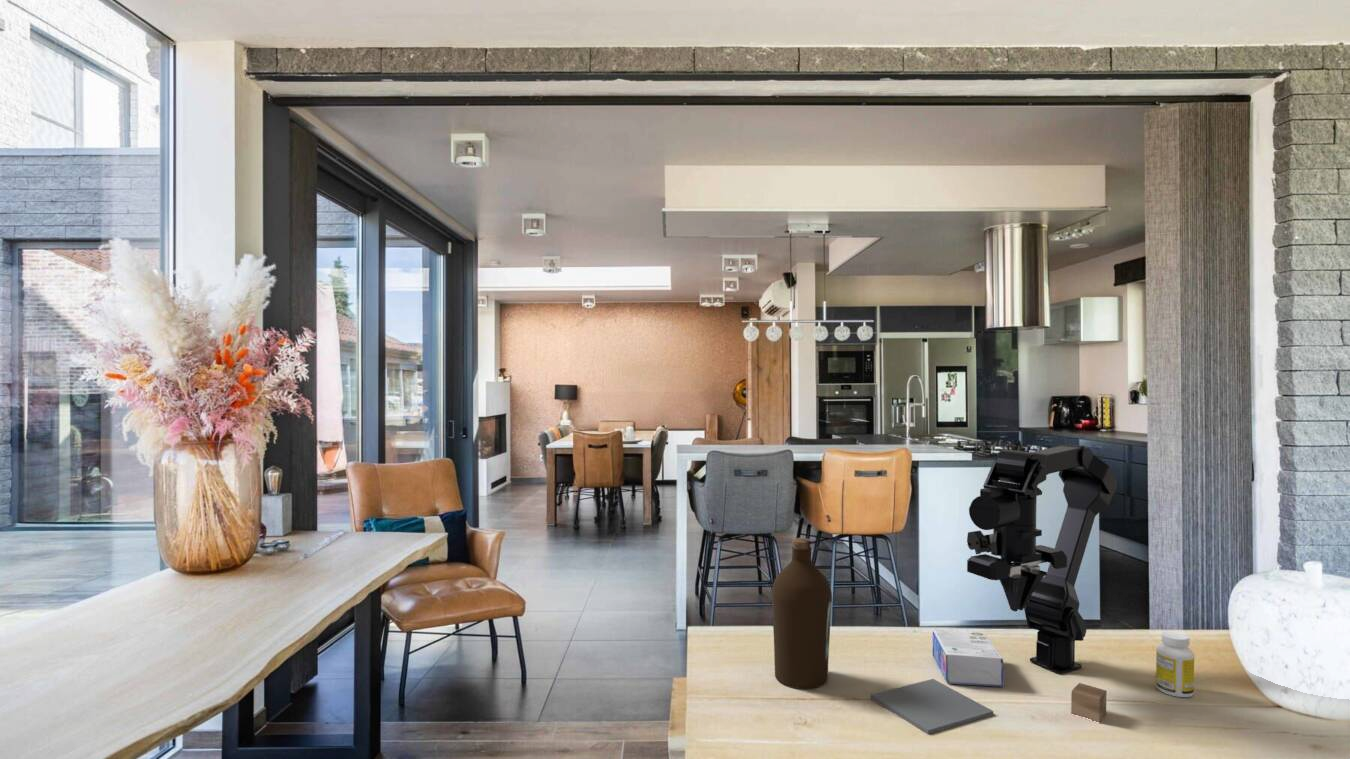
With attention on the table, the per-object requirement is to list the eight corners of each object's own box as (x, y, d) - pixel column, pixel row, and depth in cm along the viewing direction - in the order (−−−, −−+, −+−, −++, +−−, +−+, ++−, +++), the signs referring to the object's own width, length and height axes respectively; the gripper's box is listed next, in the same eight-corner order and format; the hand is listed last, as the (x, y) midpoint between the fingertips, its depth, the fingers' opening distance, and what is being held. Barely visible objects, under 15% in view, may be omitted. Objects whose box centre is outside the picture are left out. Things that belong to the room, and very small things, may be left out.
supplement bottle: (1189, 687, 127) (1191, 632, 127) (1197, 701, 122) (1198, 643, 122) (1153, 681, 129) (1154, 627, 129) (1158, 694, 125) (1159, 638, 124)
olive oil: (776, 691, 126) (777, 548, 125) (767, 665, 136) (767, 532, 136) (838, 690, 126) (839, 547, 125) (823, 664, 137) (824, 532, 136)
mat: (933, 682, 129) (933, 678, 129) (993, 714, 118) (993, 711, 118) (870, 698, 123) (870, 694, 123) (927, 734, 112) (927, 730, 112)
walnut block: (1078, 706, 121) (1079, 682, 120) (1106, 714, 118) (1106, 690, 118) (1071, 715, 118) (1071, 690, 118) (1098, 723, 115) (1099, 698, 115)
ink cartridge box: (1004, 689, 127) (982, 653, 141) (1005, 658, 127) (983, 626, 141) (944, 685, 128) (928, 650, 143) (945, 654, 128) (929, 622, 142)
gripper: (1016, 508, 139) (1015, 589, 140) (943, 518, 131) (942, 603, 132) (1069, 520, 129) (1068, 607, 130) (994, 531, 121) (993, 624, 122)
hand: (1016, 610), depth 129 cm, fingers closed
